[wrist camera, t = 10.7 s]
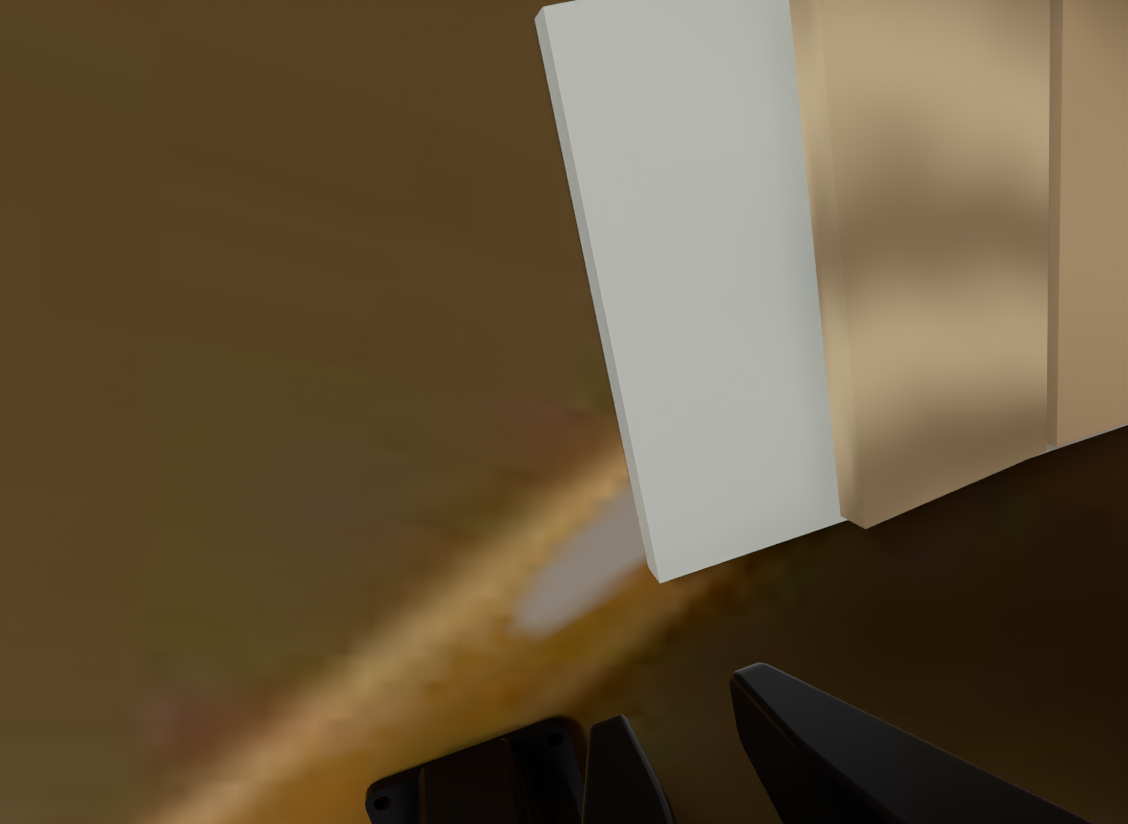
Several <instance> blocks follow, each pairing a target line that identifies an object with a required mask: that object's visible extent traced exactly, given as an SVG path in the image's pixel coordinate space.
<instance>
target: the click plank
mask: <svg viewBox="0 0 1128 824" xmlns="http://www.w3.org/2000/svg"><path fill="white" fill-rule="evenodd" d="M789 5H790V15H791V25H792V35H793V45H794V55H795V65H796V75H797V85H798V95H799V105H800V115H801V124H802V134H803V144H804V154H805V164H806V174H807V184H808V194H809V204H810V214H811V224H812V234H813V244H814V254H815V264H816V274H817V284H818V294H819V304H820V314H821V324H822V334H823V344H824V354H825V364H826V374H827V384H828V394H829V404H830V414H831V424H832V434H833V444H834V454H835V464H836V474H837V484H838V494H839V504H840V514H841V516H842V517H844V518H846V519H847V520H849V521H851V522H853V523H855V524H857V525H859V526H861V527H863V528H864V529H867V528H869V527H871V526H874V525H876V524H878V523H881V522H883V521H885V520H888V519H890V518H892V517H895V516H897V515H899V514H902V513H904V512H906V511H909V510H911V509H913V508H915V507H918V506H920V505H922V504H925V503H927V502H929V501H932V500H934V499H936V498H939V497H941V496H943V495H946V494H948V493H950V492H953V491H955V490H957V489H960V488H962V487H964V486H966V485H969V484H971V483H973V482H976V481H978V480H980V479H983V478H985V477H987V476H990V475H992V474H994V473H997V472H999V471H1001V470H1004V469H1006V468H1008V467H1010V466H1013V465H1015V464H1017V463H1020V462H1022V461H1024V460H1027V459H1029V458H1031V457H1034V456H1036V455H1038V454H1041V453H1043V452H1045V451H1046V450H1047V333H1048V216H1049V99H1050V0H789Z"/></svg>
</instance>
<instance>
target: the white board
mask: <svg viewBox="0 0 1128 824" xmlns="http://www.w3.org/2000/svg"><path fill="white" fill-rule="evenodd" d="M535 24H536V28H537V33H538V38H539V43H540V48H541V53H542V57H543V62H544V67H545V72H546V77H547V81H548V86H549V91H550V96H551V101H552V106H553V110H554V115H555V120H556V125H557V130H558V134H559V139H560V144H561V149H562V154H563V159H564V163H565V168H566V173H567V178H568V183H569V187H570V192H571V197H572V202H573V207H574V212H575V216H576V221H577V226H578V231H579V236H580V240H581V245H582V250H583V255H584V260H585V265H586V269H587V274H588V279H589V284H590V289H591V293H592V298H593V303H594V308H595V313H596V318H597V322H598V327H599V332H600V337H601V342H602V346H603V351H604V356H605V361H606V366H607V371H608V375H609V380H610V385H611V390H612V395H613V399H614V404H615V409H616V414H617V419H618V424H619V428H620V433H621V438H622V443H623V448H624V452H625V457H626V462H627V467H628V472H629V477H630V481H631V486H632V491H633V496H634V501H635V505H636V510H637V515H638V520H639V525H640V530H641V534H642V539H643V544H644V549H645V554H646V558H647V563H648V568H649V569H650V570H651V572H652V573H653V575H654V576H655V577H656V579H657V580H658V581H659V583H663V582H666V581H669V580H672V579H674V578H677V577H680V576H683V575H686V574H689V573H692V572H695V571H698V570H701V569H704V568H707V567H710V566H713V565H716V564H719V563H722V562H725V561H728V560H731V559H733V558H736V557H739V556H742V555H745V554H748V553H751V552H754V551H757V550H760V549H763V548H766V547H769V546H772V545H775V544H778V543H781V542H784V541H787V540H790V539H793V538H795V537H798V536H801V535H804V534H807V533H810V532H813V531H816V530H819V529H822V528H825V527H828V526H831V525H834V524H837V523H840V522H843V521H846V520H847V519H846V518H844V517H842V516H841V514H840V504H839V494H838V484H837V474H836V464H835V454H834V444H833V434H832V424H831V414H830V404H829V394H828V384H827V374H826V364H825V354H824V344H823V334H822V324H821V314H820V304H819V294H818V284H817V274H816V264H815V254H814V244H813V234H812V224H811V214H810V204H809V194H808V184H807V174H806V164H805V154H804V144H803V134H802V124H801V115H800V105H799V95H798V85H797V75H796V65H795V55H794V45H793V35H792V25H791V15H790V5H789V0H576V1H571V2H566V3H561V4H555V5H550V6H545V7H542V9H541V10H540V12H539V13H538V15H537V16H536V18H535ZM1126 425H1128V0H1050V99H1049V216H1048V333H1047V450H1046V451H1045V452H1043V453H1046V452H1049V451H1052V450H1055V449H1058V448H1061V447H1064V446H1067V445H1070V444H1073V443H1076V442H1079V441H1082V440H1085V439H1088V438H1091V437H1094V436H1096V435H1099V434H1102V433H1105V432H1108V431H1111V430H1114V429H1117V428H1120V427H1123V426H1126ZM1043 453H1041V454H1043ZM1038 455H1040V454H1038ZM1036 456H1037V455H1036ZM1034 457H1035V456H1034ZM1031 458H1032V457H1031Z"/></svg>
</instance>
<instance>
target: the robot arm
mask: <svg viewBox="0 0 1128 824" xmlns="http://www.w3.org/2000/svg"><path fill="white" fill-rule="evenodd" d="M729 684H730V691H731V696H732V702H733V708H734V714H735V719H736V725H737V730H738V734H739V737H740V740H741V742H742V745H743V747H744V749H745V751H746V753H747V755H748V757H749V759H750V761H751V763H752V765H753V767H754V768H755V770H756V772H757V774H758V776H759V778H760V780H761V782H762V784H763V786H764V788H765V789H766V791H767V793H768V795H769V797H770V799H771V801H772V803H773V805H774V807H775V808H776V810H777V812H778V814H779V816H780V818H781V820H782V822H783V824H1097V823H1095V822H1092V821H1090V820H1088V819H1086V818H1084V817H1082V816H1080V815H1078V814H1076V813H1074V812H1072V811H1070V810H1068V809H1066V808H1064V807H1061V806H1059V805H1057V804H1055V803H1053V802H1051V801H1049V800H1047V799H1045V798H1043V797H1041V796H1039V795H1037V794H1035V793H1033V792H1030V791H1028V790H1026V789H1024V788H1022V787H1020V786H1018V785H1016V784H1014V783H1012V782H1010V781H1008V780H1006V779H1004V778H1002V777H999V776H997V775H995V774H993V773H991V772H989V771H987V770H985V769H983V768H981V767H979V766H977V765H975V764H973V763H971V762H968V761H966V760H964V759H962V758H960V757H958V756H956V755H954V754H952V753H950V752H948V751H946V750H944V749H942V748H940V747H937V746H935V745H933V744H931V743H929V742H927V741H925V740H923V739H921V738H919V737H917V736H915V735H913V734H911V733H909V732H906V731H904V730H902V729H900V728H898V727H896V726H894V725H892V724H890V723H888V722H886V721H884V720H882V719H880V718H878V717H875V716H873V715H871V714H869V713H867V712H865V711H863V710H861V709H859V708H857V707H855V706H853V705H851V704H849V703H847V702H844V701H842V700H840V699H838V698H836V697H834V696H832V695H830V694H828V693H826V692H824V691H822V690H820V689H818V688H816V687H813V686H811V685H809V684H807V683H805V682H803V681H801V680H799V679H797V678H795V677H793V676H791V675H789V674H787V673H785V672H782V671H780V670H778V669H776V668H774V667H772V666H770V665H768V664H765V663H756V664H753V665H751V666H748V667H745V668H742V669H740V670H737V671H734V672H733V673H732V674H731V676H730V680H729ZM553 733H559V734H558V735H557V736H555V737H551V738H549V736H550V735H551V734H553ZM383 796H385V797H388V798H386V799H383V800H379V799H377V798H379V797H383ZM365 806H366V811H367V813H368V815H369V818H370V820H371V823H372V824H676V821H675V817H674V814H673V812H672V809H671V806H670V803H669V800H668V798H667V796H666V794H665V791H664V789H663V787H662V785H661V783H660V781H659V779H658V777H657V775H656V773H655V771H654V770H653V768H652V766H651V764H650V762H649V760H648V758H647V756H646V754H645V752H644V750H643V748H642V746H641V744H640V743H639V741H638V739H637V737H636V735H635V733H634V731H633V729H632V727H631V725H630V723H629V721H628V719H627V718H626V717H625V716H624V715H622V714H617V715H615V716H612V717H609V718H606V719H604V720H601V721H598V722H596V723H593V724H592V725H591V727H590V730H589V738H588V751H587V763H586V776H585V787H584V783H583V780H582V776H581V772H580V769H579V765H578V762H577V758H576V754H575V751H574V747H573V743H572V740H571V736H570V733H569V730H568V727H567V725H566V723H565V721H563V720H562V719H560V718H550V719H547V720H544V721H541V722H538V723H536V724H533V725H530V726H527V727H525V728H522V729H519V730H516V731H513V732H511V733H508V734H505V735H502V736H500V737H497V738H494V739H491V740H489V741H486V742H483V743H480V744H478V745H475V746H472V747H469V748H467V749H464V750H461V751H458V752H456V753H453V754H450V755H447V756H444V757H442V758H439V759H436V760H433V761H431V762H428V763H425V764H422V765H420V766H417V767H414V768H411V769H409V770H406V771H403V772H400V773H398V774H395V775H392V776H389V777H387V778H384V779H381V780H378V781H376V782H374V783H373V784H371V785H370V787H369V788H368V789H367V792H366V800H365Z"/></svg>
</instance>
